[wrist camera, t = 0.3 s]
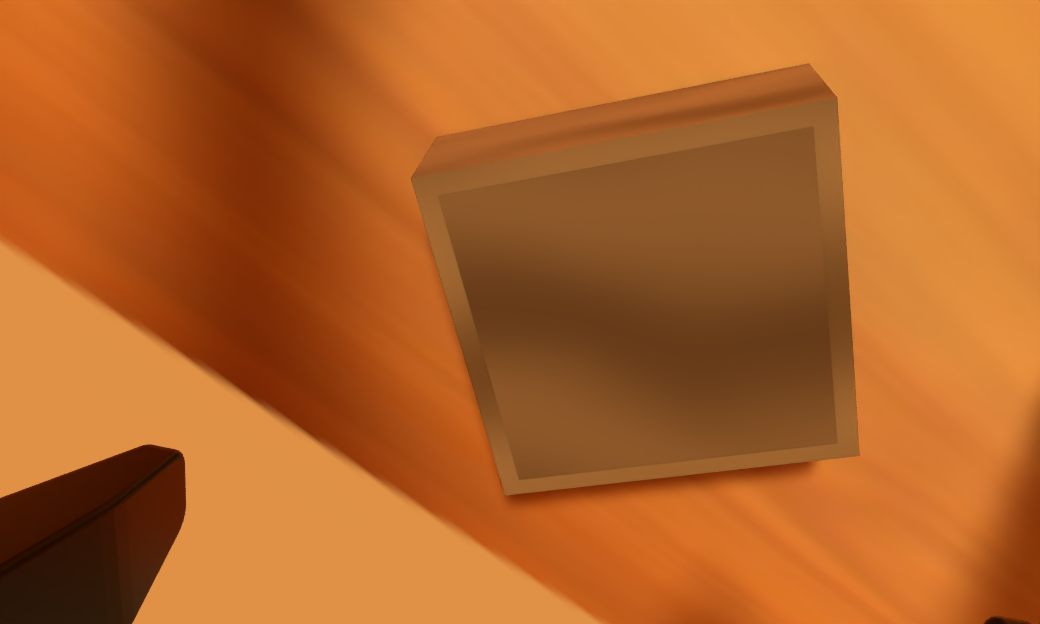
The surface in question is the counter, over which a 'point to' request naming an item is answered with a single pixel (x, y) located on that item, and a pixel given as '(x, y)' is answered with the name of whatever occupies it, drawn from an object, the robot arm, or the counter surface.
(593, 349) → the stand
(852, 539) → the counter surface
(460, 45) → the counter surface
